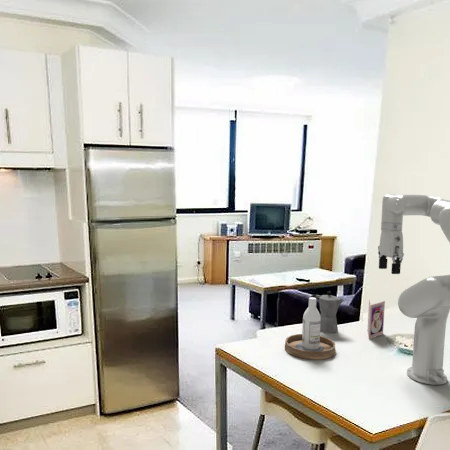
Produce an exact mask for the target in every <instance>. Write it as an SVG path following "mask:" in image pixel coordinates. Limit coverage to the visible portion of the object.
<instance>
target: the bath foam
mask: <svg viewBox="0 0 450 450" xmlns="http://www.w3.org/2000/svg"><path fill="white" fill-rule="evenodd" d="M320 315H321V313H320V310H318V308H317V299H316V298H314V297H311V296H310V297H308V307H307V308H306V309H305V311H304V313H303V317H302V328H301V329H302V331H301V334H302V346H303V347H304V348H305V349H309V350H316V349H318V348H319V346H320V336H321V331H320V325H321V317H320Z"/></svg>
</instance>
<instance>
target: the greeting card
mask: <svg viewBox="0 0 450 450" xmlns="http://www.w3.org/2000/svg"><path fill="white" fill-rule="evenodd" d="M385 305H386V301H385V300H384V301H380V302H377V303H373V304H371V302H370V299H369V300H368V310H367V311H368V313H367V329H366V330H367V335H368V337H367V338H368V339H369V340H370V339H374V338H375V337H378V336H381V335H383V334H384V326H385V325H384V324H385V323H384V322H385Z"/></svg>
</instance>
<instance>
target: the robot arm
mask: <svg viewBox="0 0 450 450" xmlns="http://www.w3.org/2000/svg"><path fill="white" fill-rule="evenodd" d="M381 203H382V205H381V222H380V223H381V224H380V231H381V232H380V238H379V239H380V240H379V244H378V246H377V251H378V252H377V253H378V269H380V270H381V269H382V270H387V269H388V258H391V261H392V263H391V274H392V275H400V274H401V265H402V261H403V259H404V256H405V253H404V236H403V219H404V216H424V217H429V218H430V219H431V222H433V224H435V225H438V226H440V228H441V231H442V232H443V234H444V236H445V238H446V240H447V241H448V242H449V244H450V200H448V199H444V198H441V197H436V196H431V195H425V194H424V195H423V194H385V195H383V197H382V202H381ZM397 300H398V301H397V306H398V310H399V311H400V312H401V314H403V315H404V316H405V317H408V318H410V319H416V320H415V323H414V330H413V331H414V332H413V333H414V334H413V346H412V347H413V348H412V349H413V351H412V363H411V366H409V367H408V368H407V369H406V374H407V376H408V377H409V378H411V379H412V380H414V381H416V382H418V383H422V384H425V385H432V386H438V385H439V386H441V385H444V384H446V383H447V382H448V376H447V375H446V374H445V373H444V371H445V369H443V367H444V354H445V342H446V330H447V329H446V328H447V322H448V317H449V314H450V274H447V275H446V274H445V275H434V276H429V277H426V278H423V279H422V280H420V281H417V283H415V284H412V285H411V286H410V287H408V288H406V289H404V290H403V291H402V292H401V294H400V295H399V297H398V299H397Z"/></svg>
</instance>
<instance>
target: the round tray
mask: <svg viewBox="0 0 450 450" xmlns="http://www.w3.org/2000/svg"><path fill="white" fill-rule="evenodd" d="M284 350H285V352H286V353H287V354H289V355H291V356H293V357H295V358H298V359H302V360H307V361H308V360H309V361H310V360H311V361H322V360H323V361H324V360H328V359H331V358H333V357H334V356H335V355H336V351H337V350H336V343H335V342H334V341H333V340H332V339H330V338H328V337H326V336H322V335H320V346H319V348H318V349H316V350H309V349H305V348H304V347H303V346H302V333H298V334H292V335H290V336H287V337H285V341H284Z"/></svg>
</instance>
